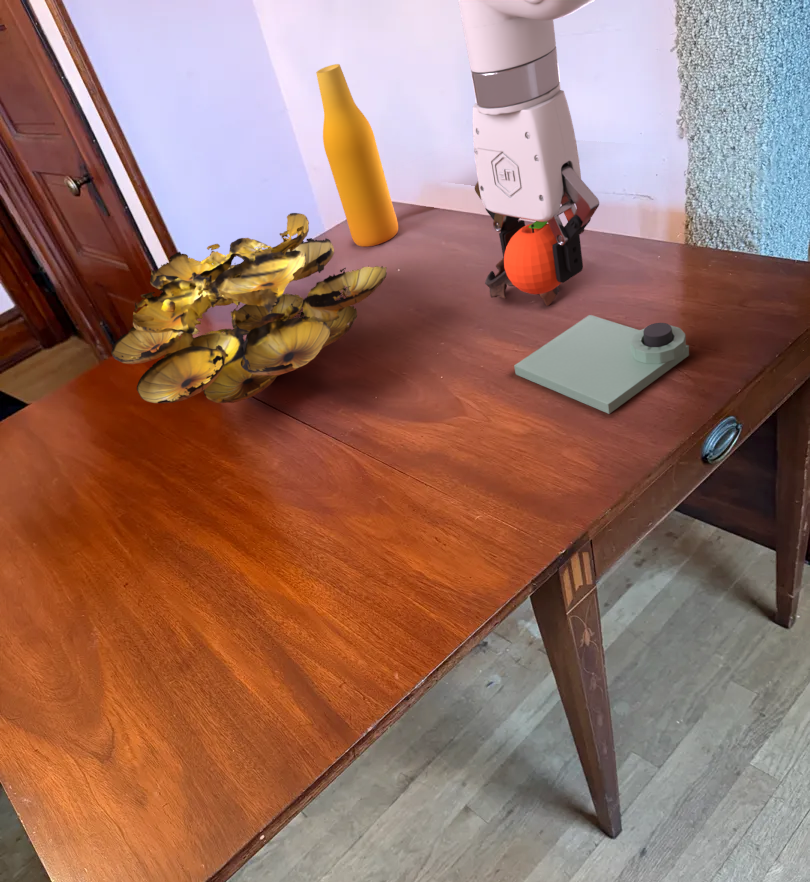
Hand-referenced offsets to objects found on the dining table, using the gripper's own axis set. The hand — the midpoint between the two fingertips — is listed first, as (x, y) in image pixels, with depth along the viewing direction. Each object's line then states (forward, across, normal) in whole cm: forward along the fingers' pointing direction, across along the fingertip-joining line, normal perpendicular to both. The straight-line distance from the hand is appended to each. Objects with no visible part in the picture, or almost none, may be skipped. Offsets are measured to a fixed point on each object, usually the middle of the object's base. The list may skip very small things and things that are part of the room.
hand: (542, 268), depth 78 cm
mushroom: (+18, -47, -16) cm, 53 cm away
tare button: (+15, +3, +13) cm, 20 cm away
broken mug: (+18, -24, +18) cm, 35 cm away
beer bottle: (+18, -70, +22) cm, 75 cm away
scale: (+18, -2, +9) cm, 20 cm away
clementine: (+2, 0, 0) cm, 2 cm away
